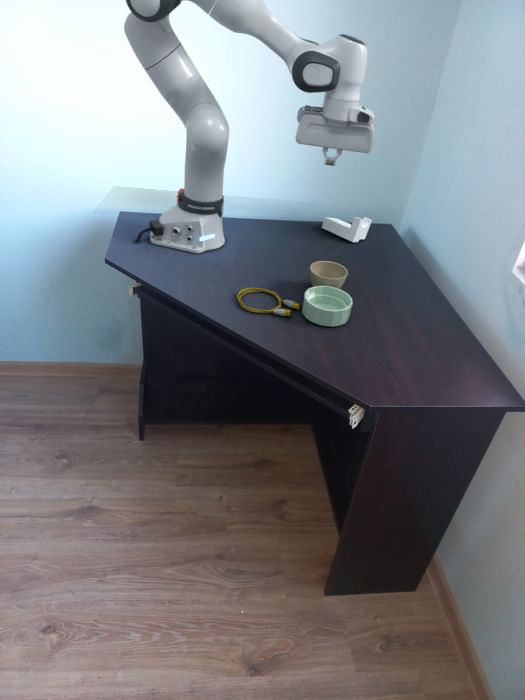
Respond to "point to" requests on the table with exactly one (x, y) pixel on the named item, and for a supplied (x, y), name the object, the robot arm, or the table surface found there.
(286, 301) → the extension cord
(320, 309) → the bowl
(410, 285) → the table surface
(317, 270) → the flower pot
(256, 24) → the robot arm
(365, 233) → the bracket
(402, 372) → the table surface
